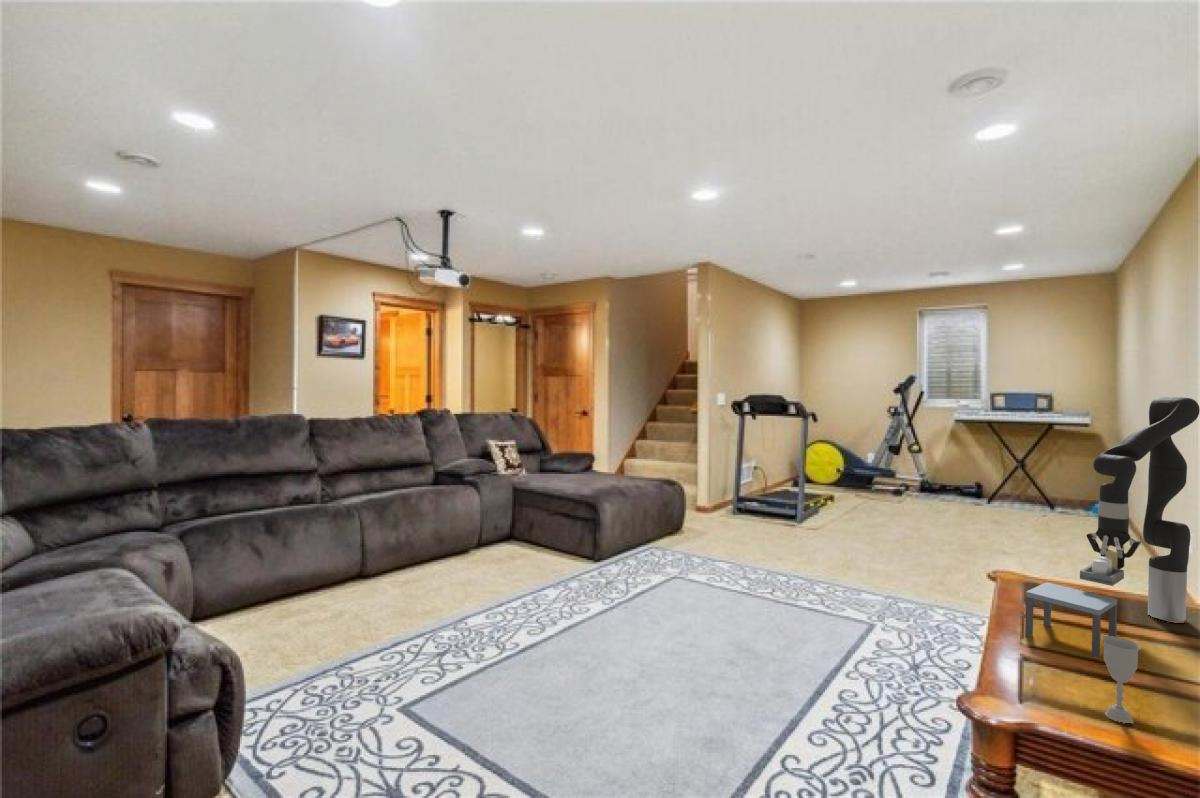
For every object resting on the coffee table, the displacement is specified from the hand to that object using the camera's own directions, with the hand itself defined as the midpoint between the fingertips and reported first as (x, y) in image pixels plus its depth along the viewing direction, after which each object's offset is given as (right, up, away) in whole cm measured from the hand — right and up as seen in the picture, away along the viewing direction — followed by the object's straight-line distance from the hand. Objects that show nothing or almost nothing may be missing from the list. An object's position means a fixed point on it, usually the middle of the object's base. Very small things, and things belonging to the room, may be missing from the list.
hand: (1112, 567), depth 189 cm
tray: (-6, -2, -5) cm, 8 cm away
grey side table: (-23, -19, -12) cm, 33 cm away
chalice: (-46, -20, -53) cm, 73 cm away
